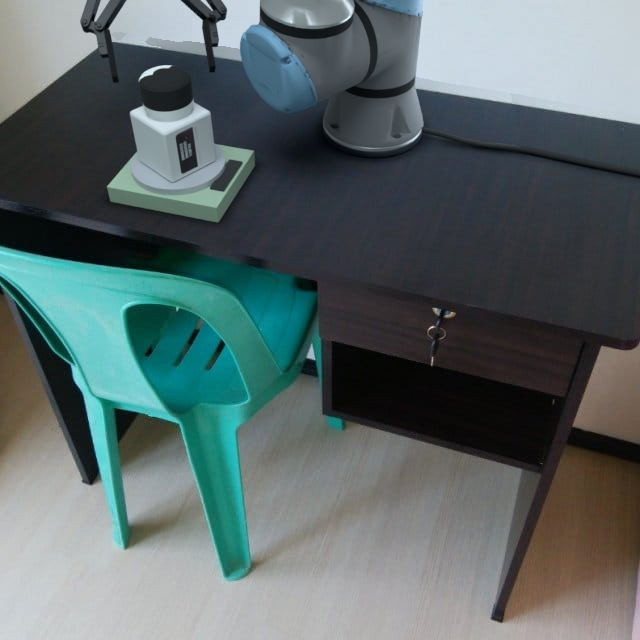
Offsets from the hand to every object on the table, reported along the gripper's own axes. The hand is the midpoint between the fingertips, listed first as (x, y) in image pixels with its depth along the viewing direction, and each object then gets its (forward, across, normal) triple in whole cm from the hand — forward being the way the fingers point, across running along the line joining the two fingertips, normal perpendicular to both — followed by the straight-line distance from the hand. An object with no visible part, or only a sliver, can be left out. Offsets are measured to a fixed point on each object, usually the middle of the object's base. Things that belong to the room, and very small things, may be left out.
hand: (164, 74), depth 106 cm
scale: (+16, 0, 0) cm, 16 cm away
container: (+13, 0, +2) cm, 13 cm away
